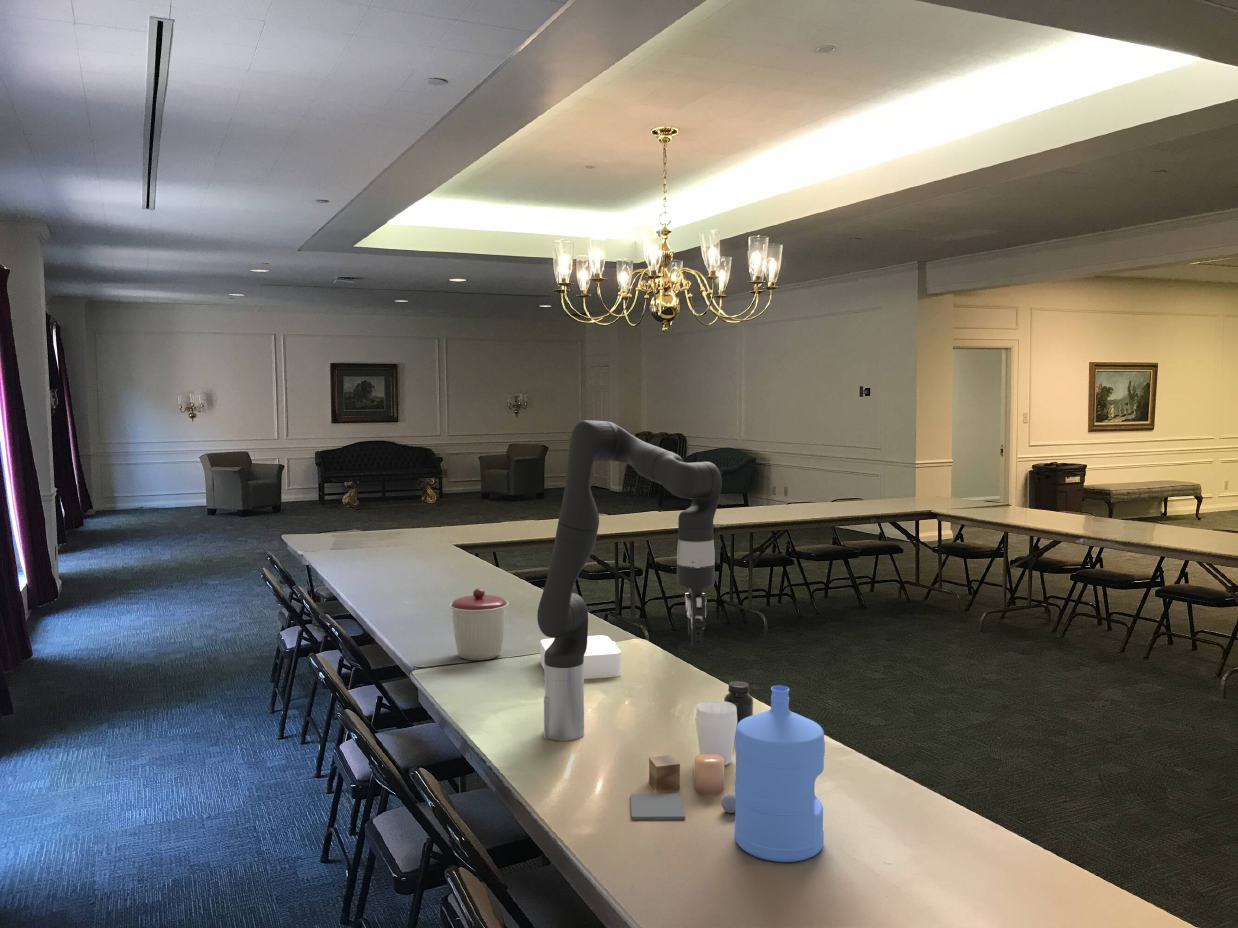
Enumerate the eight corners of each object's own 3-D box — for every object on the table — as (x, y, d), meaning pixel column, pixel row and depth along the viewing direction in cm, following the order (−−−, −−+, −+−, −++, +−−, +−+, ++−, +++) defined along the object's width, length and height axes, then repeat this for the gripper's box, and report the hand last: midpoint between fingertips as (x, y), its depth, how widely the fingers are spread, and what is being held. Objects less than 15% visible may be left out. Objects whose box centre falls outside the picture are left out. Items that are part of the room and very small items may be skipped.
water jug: (765, 872, 152) (766, 708, 150) (718, 831, 166) (719, 681, 164) (841, 853, 158) (844, 695, 156) (790, 815, 173) (791, 670, 171)
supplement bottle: (751, 740, 211) (752, 689, 210) (722, 737, 212) (722, 687, 212) (753, 729, 218) (754, 680, 217) (724, 727, 219) (725, 678, 218)
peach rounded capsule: (695, 794, 182) (695, 765, 182) (693, 781, 188) (693, 753, 188) (725, 794, 182) (725, 765, 182) (722, 781, 188) (722, 753, 188)
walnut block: (656, 790, 184) (656, 766, 184) (649, 780, 189) (649, 757, 189) (679, 787, 185) (679, 763, 185) (671, 777, 190) (672, 754, 190)
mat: (631, 819, 171) (631, 816, 171) (630, 796, 181) (630, 793, 181) (684, 819, 171) (684, 816, 171) (681, 796, 181) (681, 793, 181)
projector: (627, 676, 261) (627, 652, 260) (550, 682, 256) (550, 658, 255) (611, 656, 281) (611, 634, 281) (539, 661, 276) (539, 639, 276)
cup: (710, 771, 193) (710, 716, 192) (687, 757, 201) (687, 703, 200) (745, 763, 197) (745, 709, 196) (721, 749, 205) (722, 697, 204)
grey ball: (722, 816, 172) (722, 797, 172) (720, 807, 176) (720, 789, 176) (741, 816, 172) (741, 797, 172) (738, 807, 176) (739, 789, 176)
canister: (443, 652, 285) (442, 585, 284) (499, 645, 293) (498, 580, 291) (458, 667, 269) (457, 597, 268) (517, 660, 277) (516, 591, 275)
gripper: (674, 555, 189) (674, 632, 190) (679, 568, 175) (679, 651, 176) (710, 555, 189) (710, 632, 190) (718, 568, 175) (718, 651, 176)
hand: (695, 641), depth 183 cm, fingers open, 8 cm apart
